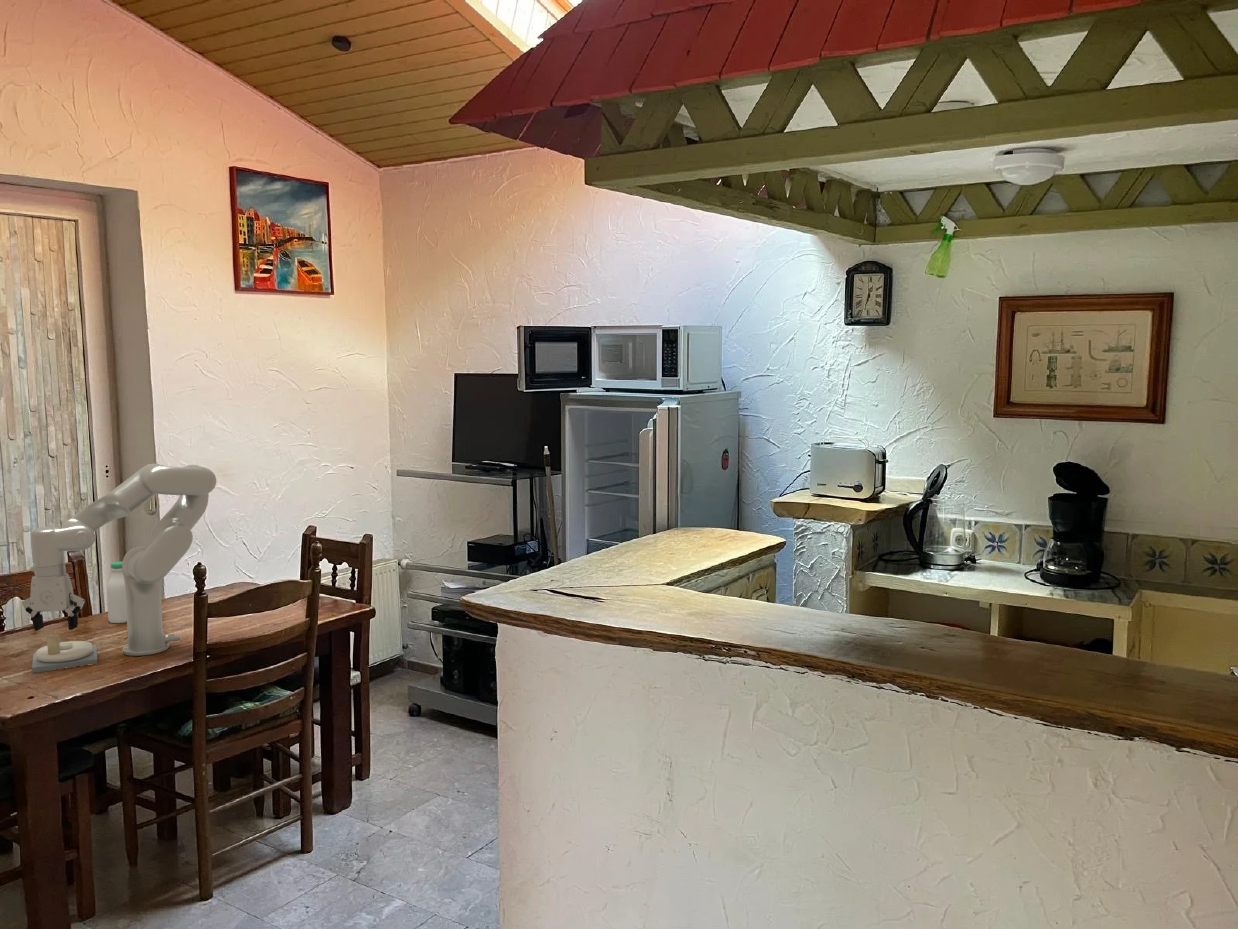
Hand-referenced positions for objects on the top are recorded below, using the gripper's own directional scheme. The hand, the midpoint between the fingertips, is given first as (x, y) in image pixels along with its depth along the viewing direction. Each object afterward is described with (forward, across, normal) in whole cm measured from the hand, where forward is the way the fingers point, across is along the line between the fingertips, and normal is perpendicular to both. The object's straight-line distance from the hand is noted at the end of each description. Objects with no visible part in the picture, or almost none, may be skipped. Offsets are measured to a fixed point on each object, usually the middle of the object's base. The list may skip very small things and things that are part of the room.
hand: (56, 629), depth 262 cm
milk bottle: (+12, -7, +47) cm, 49 cm away
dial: (+9, -1, +4) cm, 10 cm away
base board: (+11, -1, +4) cm, 12 cm away
